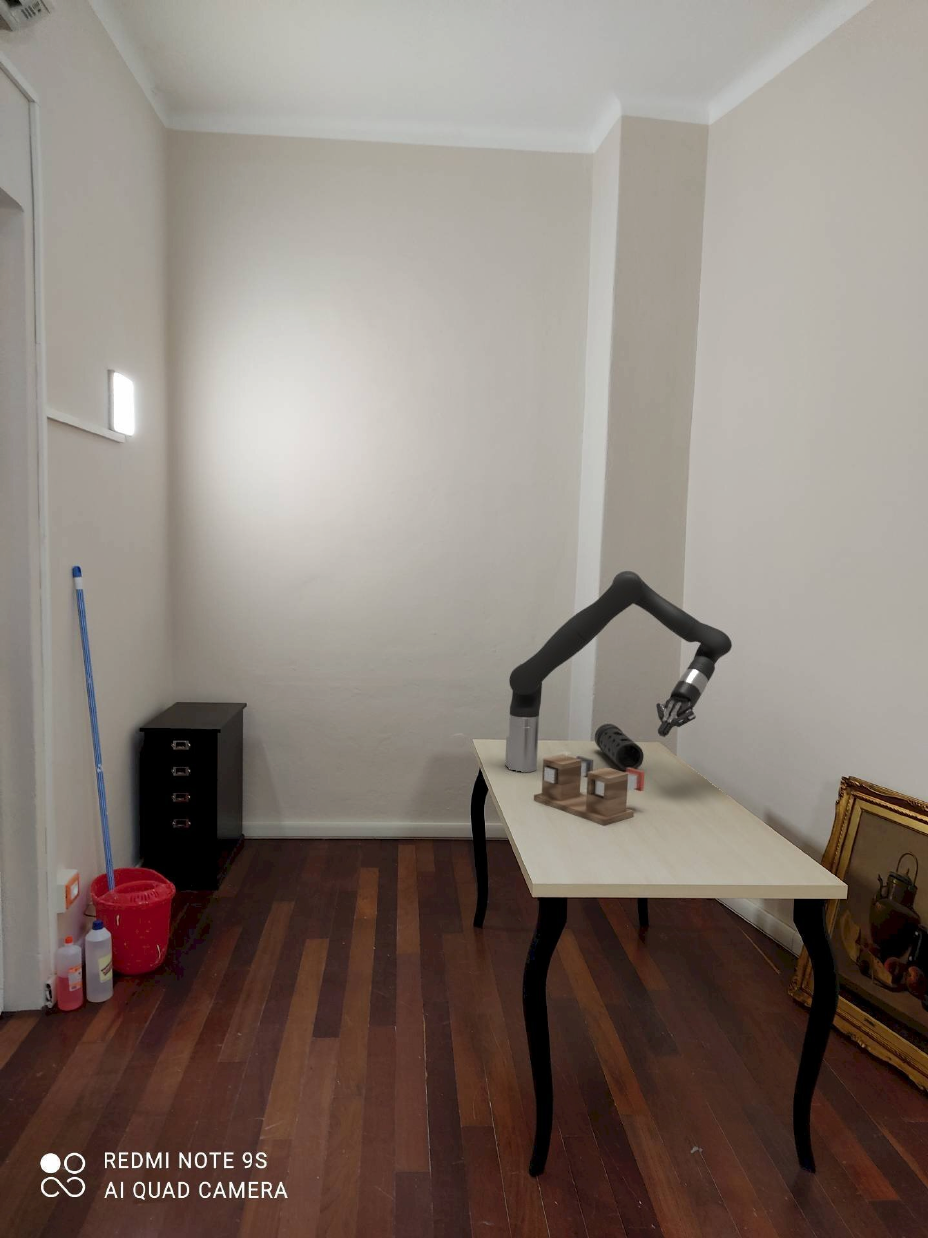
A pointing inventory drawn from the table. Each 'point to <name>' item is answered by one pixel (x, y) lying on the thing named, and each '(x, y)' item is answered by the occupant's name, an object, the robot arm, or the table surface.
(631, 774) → the red plug
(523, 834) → the table surface
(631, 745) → the muzzle brake
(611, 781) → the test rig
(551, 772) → the charcoal plug
